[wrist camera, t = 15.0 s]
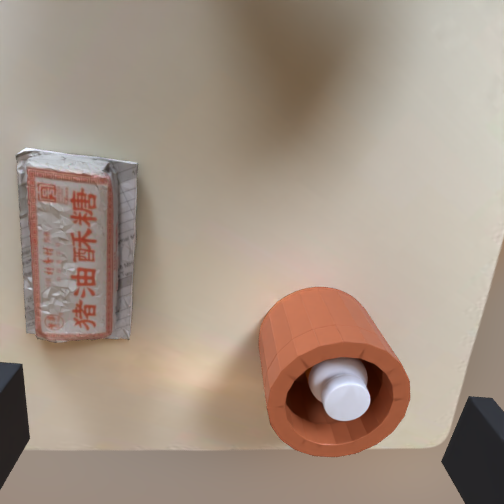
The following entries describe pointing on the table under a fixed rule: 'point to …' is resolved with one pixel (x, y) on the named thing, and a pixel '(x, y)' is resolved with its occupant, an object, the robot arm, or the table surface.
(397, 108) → the table surface
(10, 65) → the table surface
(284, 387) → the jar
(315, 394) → the supplement bottle
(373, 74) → the table surface
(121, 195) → the packaged product
